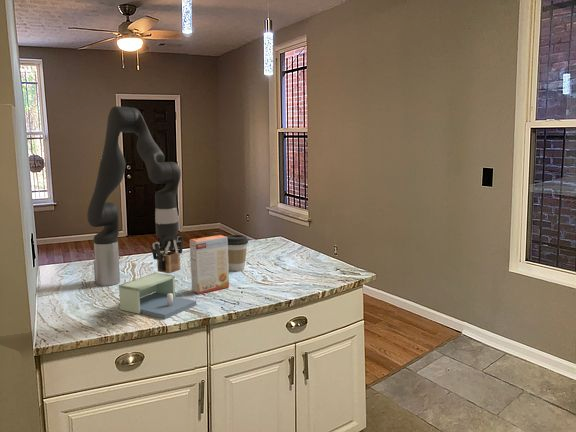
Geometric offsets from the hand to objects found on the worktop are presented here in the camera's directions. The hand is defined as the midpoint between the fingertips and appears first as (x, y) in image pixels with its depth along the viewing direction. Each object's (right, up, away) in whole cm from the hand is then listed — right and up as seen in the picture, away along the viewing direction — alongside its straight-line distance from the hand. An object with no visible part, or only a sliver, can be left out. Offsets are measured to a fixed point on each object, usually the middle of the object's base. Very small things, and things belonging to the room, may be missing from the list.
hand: (168, 268), depth 175 cm
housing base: (-4, -14, +5) cm, 16 cm away
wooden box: (0, -1, 0) cm, 1 cm away
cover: (-9, -14, +8) cm, 18 cm away
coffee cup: (+18, -6, +54) cm, 57 cm away
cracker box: (+11, -11, +25) cm, 29 cm away
